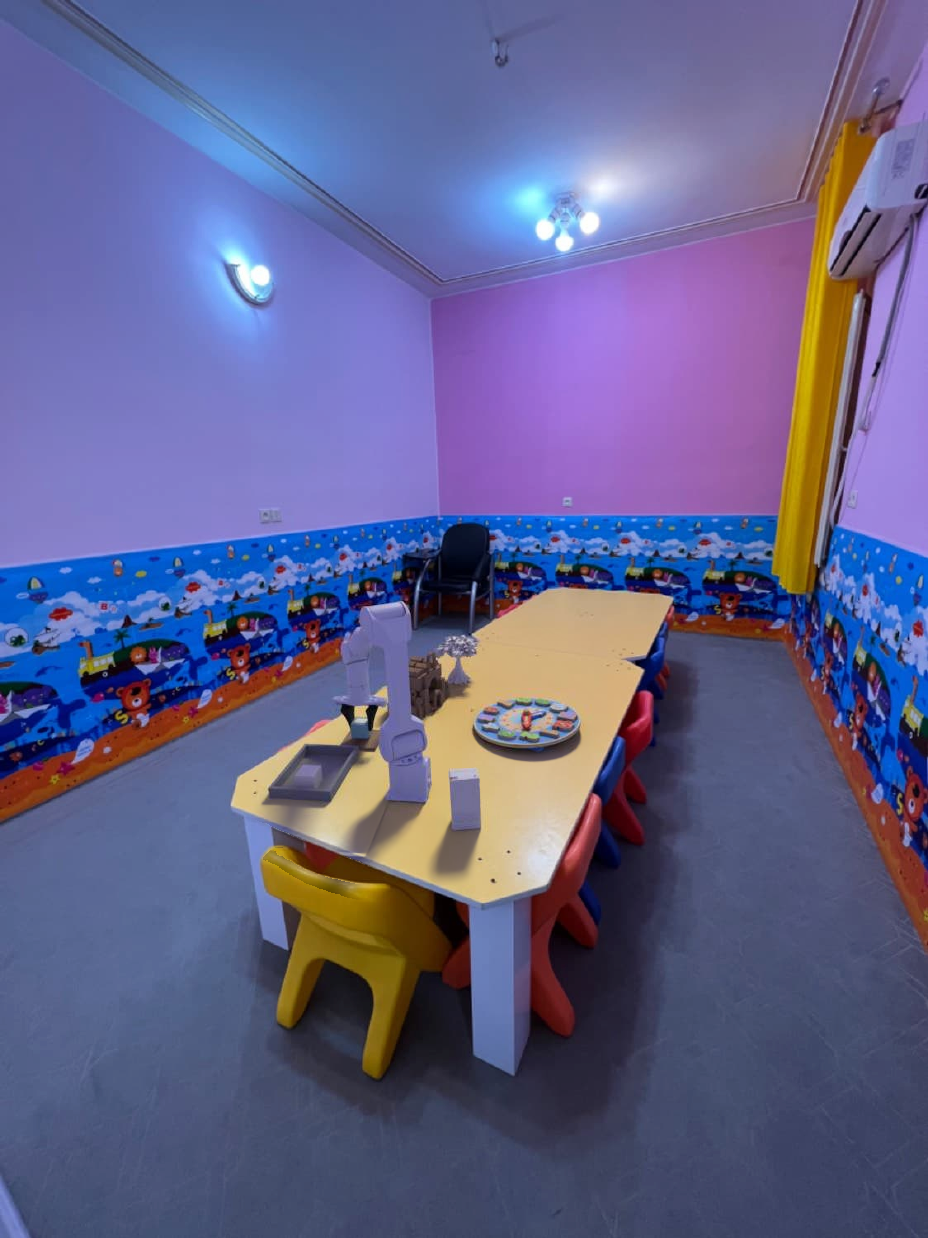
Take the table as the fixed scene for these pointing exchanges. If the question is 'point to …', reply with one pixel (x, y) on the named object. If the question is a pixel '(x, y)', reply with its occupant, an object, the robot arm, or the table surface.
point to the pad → (363, 741)
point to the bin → (334, 772)
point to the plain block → (309, 776)
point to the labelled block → (360, 728)
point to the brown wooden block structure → (426, 685)
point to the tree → (457, 655)
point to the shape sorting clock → (527, 723)
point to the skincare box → (465, 798)
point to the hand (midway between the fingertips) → (362, 729)
